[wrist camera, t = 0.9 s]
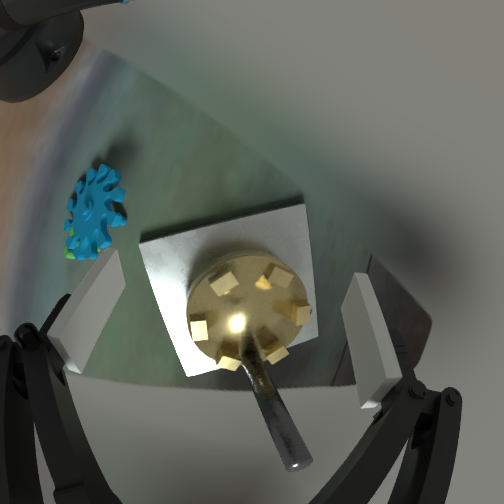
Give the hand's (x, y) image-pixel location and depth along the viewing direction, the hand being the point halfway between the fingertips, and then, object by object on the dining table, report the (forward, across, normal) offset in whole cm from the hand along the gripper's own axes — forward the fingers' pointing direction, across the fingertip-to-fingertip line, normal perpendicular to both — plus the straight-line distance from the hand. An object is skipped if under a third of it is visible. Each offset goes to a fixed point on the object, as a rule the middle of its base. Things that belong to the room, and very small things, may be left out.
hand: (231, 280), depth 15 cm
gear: (+14, -17, -4) cm, 22 cm away
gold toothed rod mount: (+12, +1, -14) cm, 19 cm away
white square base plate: (+15, 0, -15) cm, 22 cm away
